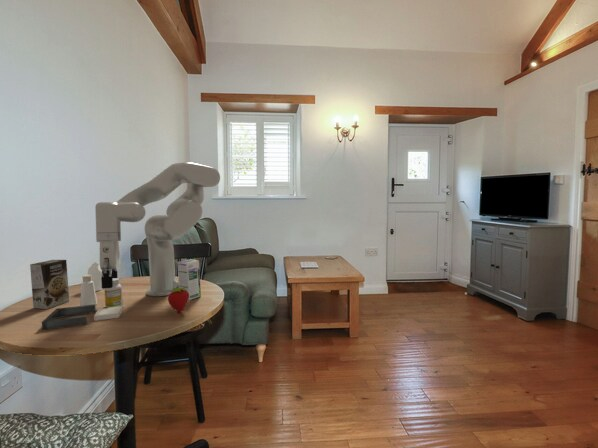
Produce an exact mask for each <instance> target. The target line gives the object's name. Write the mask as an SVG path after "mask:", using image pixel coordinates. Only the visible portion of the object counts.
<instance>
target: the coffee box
mask: <svg viewBox="0 0 598 448" xmlns="http://www.w3.org/2000/svg"><path fill="white" fill-rule="evenodd" d="M67 263H68V262H67V259H51V260H45V261H40V262H35V263H30V264H29V266H30V267H29V269H30V281H31V282H30V283H31V295H32V307H33V309H44V310H47V309H48V310H49V309H50V308H54V307H57V306H60V305H61V304H65V303H68V302H70V292H69V289H70V288H69V279H68V278H69V277H68V266H67V265H68V264H67Z"/></svg>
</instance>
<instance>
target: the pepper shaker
mask: <svg viewBox="0 0 598 448" xmlns="http://www.w3.org/2000/svg"><path fill="white" fill-rule="evenodd" d="M80 287H81V288H80V305H79V306H84V305H92V304H95V305H96V306H97V305H98V298H97V293H96V291H95V288H94V283H93V281H91V275H88V274H85V275H82V282H81V284H80Z"/></svg>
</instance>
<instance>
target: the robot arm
mask: <svg viewBox="0 0 598 448" xmlns="http://www.w3.org/2000/svg"><path fill="white" fill-rule="evenodd" d="M220 182H221V175H220V172H219V171H218V170H217V169H216V168H215V167H212V166H208V165H204V164H199V163H195V162H189V161H184V162H175V163H173V164H171V165H169V166H168V167H166V168H165V169H164V170H163V171H162V170H161V172H159V173H158V174H157V175H155V177H154V178H152V179H151V180H149V181H148V182H145V183H144V184H142V185H140V186H138V187H137V188H135V189H133V190H132V191H129V192H128V193H126V194H125V195H124V196H122V197H121V198H120V199H119V200H117V201H116V202H114V201H113V202H110V201H108V202H107V201H101V202H97V203H96V204H95V206H94V207H95V208H94V209H95V231H96V232H95V235H96V236H95V238H96V239H95V242H97V243H99V266H100V269H101V270H102V277H101V280H102V289H103V290H105V288H112V287H113V279H112V278H118V268H120V266H121V254H120V245H119V242H122V231H121V230H122V228H121V227H122V225H121V222H124V223H125V222H127V223H138V222H140V221H142V220H143V219H144V217H145V216H146V209H145V207H146V206H147V205H148V204H152V203H155V202H159V201H161V200H164V199H165V198H167V197H168V196H169V195H170V194H171V193H172V192H174V191H175V190H176V189H177V188H179V187H180V186H181V185H182V184H186V185H187V189H186V191H185V192H183V193H182V194H181V195H180V196H178V197H177V198H176V199H175V200H173V202H171V203H170V204H169V205H168V206H167V209H166V214H164V215H163V214H162V215H161V214H157V215H152V216H150V217H149V218H148V219H147V220H146V222H145V225H144V234H145V238H146V242H147V250H148V251H147V252H148V268H149V283H150V285H149V286H150V287H149V288H148V289H147V290H146V295H147V296H149V297H165V296H169V294H170V293H172V292H170V291H173V290H175V289H173V288H179V280H177V278H176V268H175V249H174V243H173V241H175V240H178V239H181V238H182V237H183V236H184V235H186V234H187V232H189V231H190V230H191V229H192V228H193V227H194V226H195V225H196V224H197V223H198V222H199V221H200V220H201V218H202V216H203V207H202V205H201V204H203V202H204V198H205V195H204V192H205V191H204V188H213V187H216V186H217V185H218V184H219V183H220ZM144 206H145V207H144ZM118 279H119V278H118ZM173 292H174V291H173Z"/></svg>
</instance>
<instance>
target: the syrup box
mask: <svg viewBox="0 0 598 448" xmlns="http://www.w3.org/2000/svg"><path fill="white" fill-rule="evenodd" d="M177 275H178V281H179V288H184V289H185V290H186V291H187V292H188V293H189V299H188V301H192V300H194V299H197V298H200V297H201V296H202V293H201V291H202V290H201V274H200V260H198V259H194V258H193V259H192V258H191V259H185V260H182V261H177Z"/></svg>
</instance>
